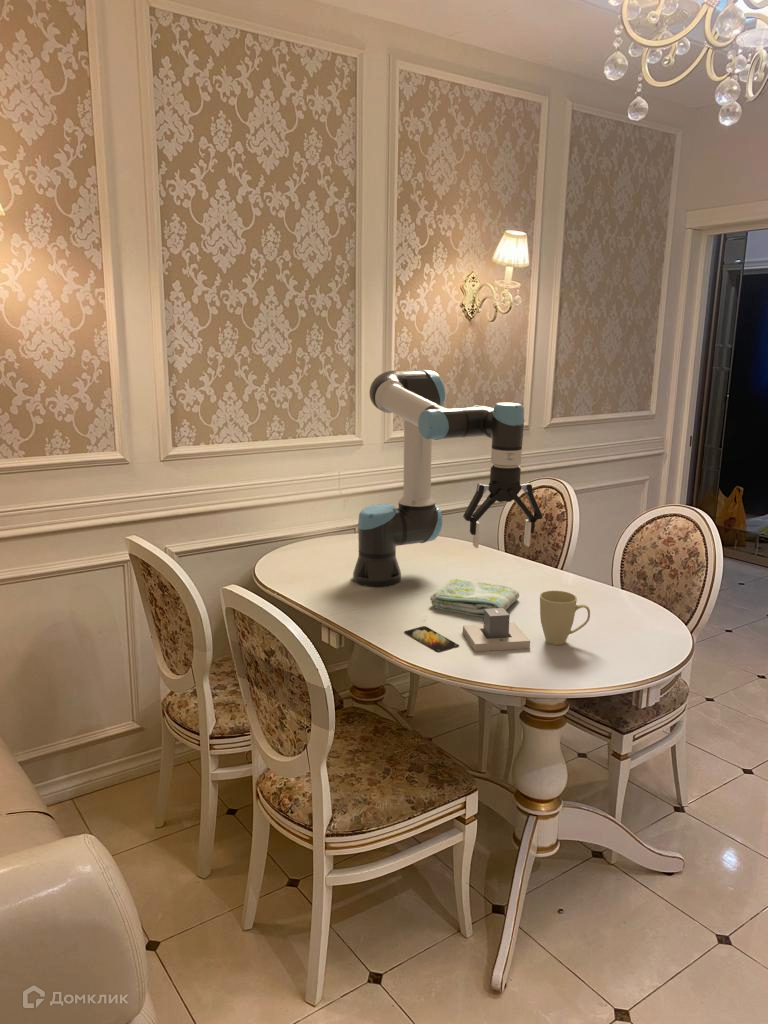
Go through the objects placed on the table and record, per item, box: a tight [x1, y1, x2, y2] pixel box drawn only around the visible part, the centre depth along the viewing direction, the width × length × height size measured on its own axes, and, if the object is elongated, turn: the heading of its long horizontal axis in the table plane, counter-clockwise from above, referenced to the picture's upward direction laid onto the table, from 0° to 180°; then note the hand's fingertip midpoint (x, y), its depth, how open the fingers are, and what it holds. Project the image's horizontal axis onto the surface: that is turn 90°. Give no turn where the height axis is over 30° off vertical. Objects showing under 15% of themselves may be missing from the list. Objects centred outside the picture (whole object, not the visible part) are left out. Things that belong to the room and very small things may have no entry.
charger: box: [483, 608, 510, 639], centre depth 188 cm, size 5×5×8 cm
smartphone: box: [403, 625, 460, 653], centre depth 190 cm, size 7×1×15 cm
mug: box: [539, 590, 591, 646], centre depth 187 cm, size 11×10×12 cm
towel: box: [429, 578, 520, 618], centre depth 214 cm, size 18×21×5 cm
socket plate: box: [462, 621, 531, 653], centre depth 189 cm, size 12×14×2 cm
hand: (501, 545), depth 193 cm, fingers open, 13 cm apart
